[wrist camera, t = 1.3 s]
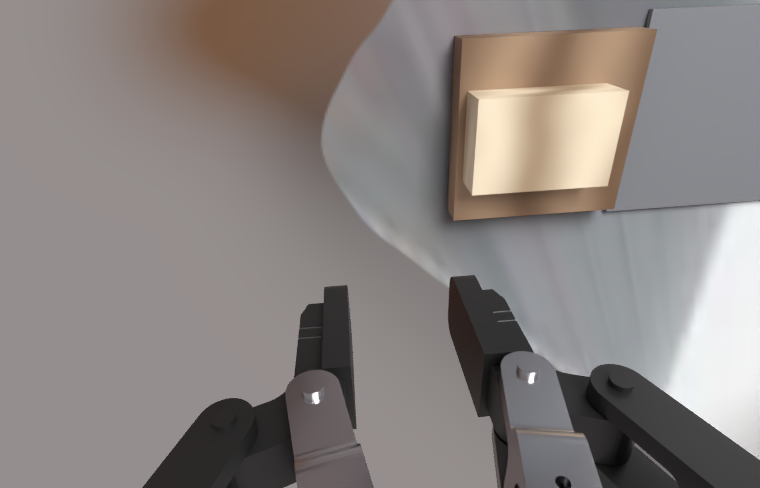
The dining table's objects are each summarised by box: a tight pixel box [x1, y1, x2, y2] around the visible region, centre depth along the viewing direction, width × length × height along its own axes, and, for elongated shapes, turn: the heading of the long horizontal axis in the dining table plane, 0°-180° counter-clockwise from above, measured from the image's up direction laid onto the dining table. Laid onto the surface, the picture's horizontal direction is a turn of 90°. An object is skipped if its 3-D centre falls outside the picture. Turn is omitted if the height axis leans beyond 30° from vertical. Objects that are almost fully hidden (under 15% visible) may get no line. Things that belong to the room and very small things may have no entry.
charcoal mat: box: [605, 4, 760, 212], centre depth 32 cm, size 14×14×1 cm
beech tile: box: [463, 83, 629, 196], centre depth 29 cm, size 9×6×2 cm, turn 92°
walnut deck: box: [447, 27, 657, 221], centre depth 31 cm, size 12×12×2 cm
